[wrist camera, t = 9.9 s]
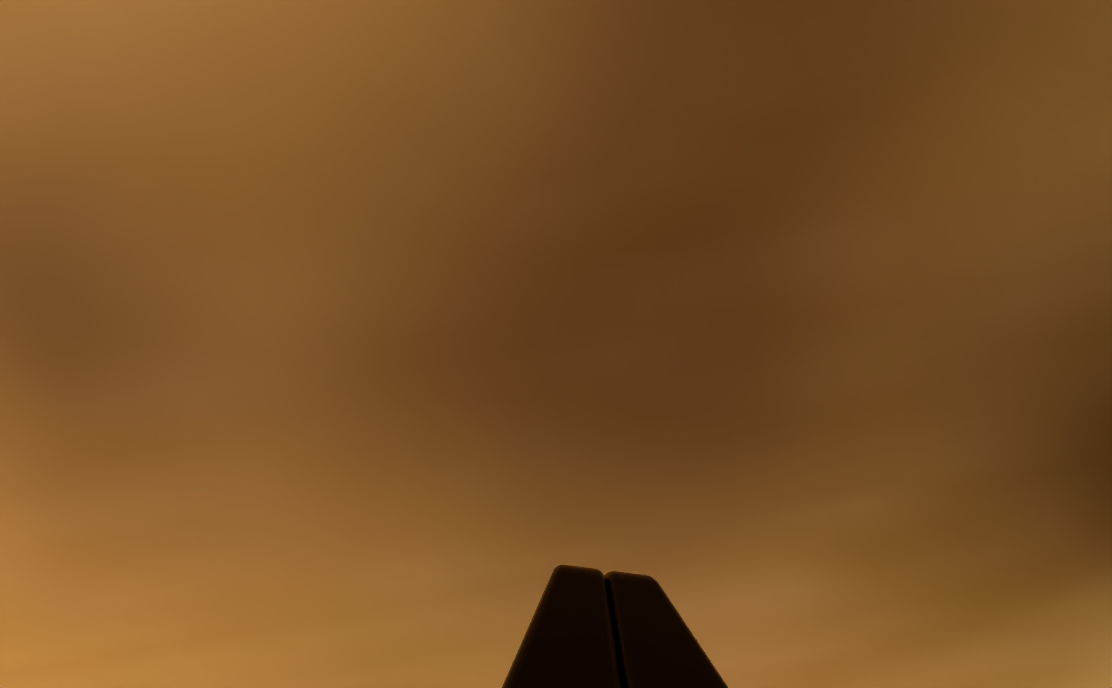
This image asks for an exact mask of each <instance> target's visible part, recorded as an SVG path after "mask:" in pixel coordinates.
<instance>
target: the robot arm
mask: <svg viewBox="0 0 1112 688" xmlns="http://www.w3.org/2000/svg"><path fill="white" fill-rule="evenodd" d="M502 688H728V687H727V685H726V684H725V682H724V681H723V679H722V678H721V676H720V675H719V673H718V672H717V670H716V669H715V667H714V666H713V664H712V663H711V661H710V660H709V658H708V657H707V655H706V654H705V652H704V651H703V649H702V648H701V646H700V645H699V643H698V642H697V640H696V639H695V637H694V636H693V634H692V633H691V631H690V630H689V628H688V627H687V625H686V624H685V622H684V621H683V619H682V618H681V616H680V615H679V613H678V612H677V610H676V609H675V607H674V606H673V604H672V603H671V601H670V600H669V598H668V597H667V595H666V594H665V592H664V591H663V589H662V588H661V586H660V585H659V583H658V582H657V581H656V580H655V579H653V578H652V577H650V576H647V575H639V574H631V573H623V572H616V571H612V572H609V573H607V574H606V575H605V576H604V575H603V573H602V572H601V571H600V570H598V569H592V568H584V567H576V566H568V565H559V566H557V567H556V568H555V569H554V571H553V573H552V575H551V577H550V579H549V582H548V584H547V586H546V589H545V591H544V593H543V595H542V598H541V600H540V602H539V604H538V607H537V609H536V611H535V614H534V616H533V618H532V620H531V623H530V625H529V627H528V630H527V632H526V634H525V636H524V639H523V641H522V643H521V645H520V648H519V650H518V652H517V655H516V657H515V659H514V661H513V664H512V666H511V668H510V671H509V673H508V675H507V677H506V680H505V682H504V684H503V687H502Z"/></svg>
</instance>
